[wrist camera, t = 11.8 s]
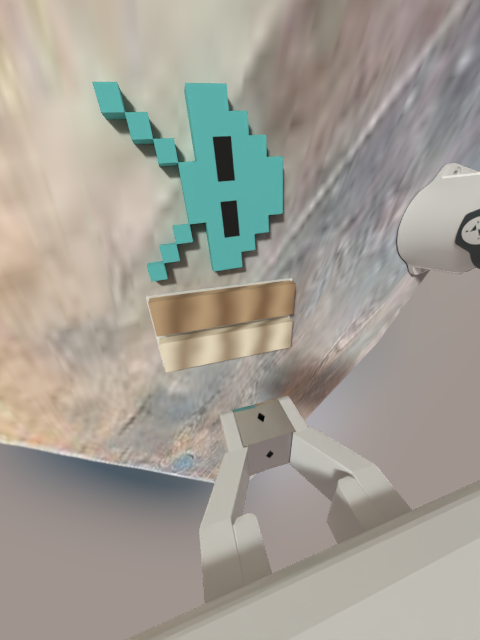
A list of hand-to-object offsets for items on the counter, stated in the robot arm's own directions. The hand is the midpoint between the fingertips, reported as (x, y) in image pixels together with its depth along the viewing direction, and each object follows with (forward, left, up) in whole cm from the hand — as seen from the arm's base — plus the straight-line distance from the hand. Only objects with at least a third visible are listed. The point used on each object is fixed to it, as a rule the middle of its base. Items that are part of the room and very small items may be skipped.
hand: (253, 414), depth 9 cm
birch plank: (-4, +13, -27) cm, 30 cm away
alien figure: (-3, -10, -28) cm, 30 cm away
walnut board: (-4, +6, -27) cm, 28 cm away
